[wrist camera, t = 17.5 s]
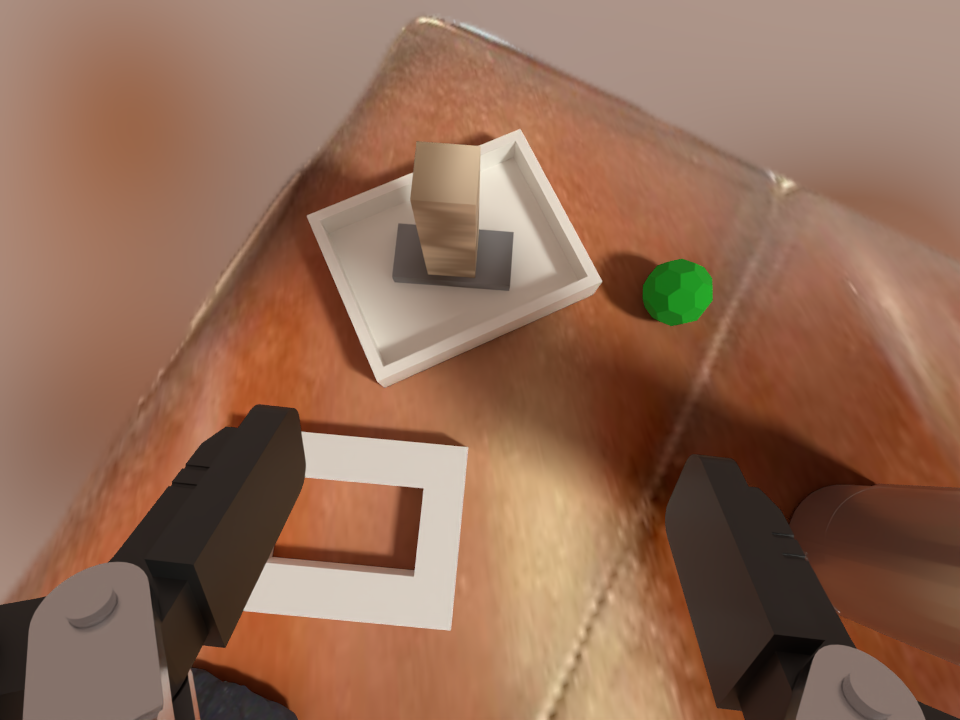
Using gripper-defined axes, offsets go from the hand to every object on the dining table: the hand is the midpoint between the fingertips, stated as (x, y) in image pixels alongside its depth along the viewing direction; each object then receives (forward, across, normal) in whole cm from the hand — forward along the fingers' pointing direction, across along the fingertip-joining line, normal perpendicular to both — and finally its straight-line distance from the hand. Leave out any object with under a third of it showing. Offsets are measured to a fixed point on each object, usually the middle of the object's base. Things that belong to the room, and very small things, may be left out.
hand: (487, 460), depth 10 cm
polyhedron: (+30, -14, +10) cm, 34 cm away
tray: (+30, +4, +8) cm, 32 cm away
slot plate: (+16, +9, +23) cm, 29 cm away
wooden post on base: (+30, +4, +8) cm, 31 cm away
